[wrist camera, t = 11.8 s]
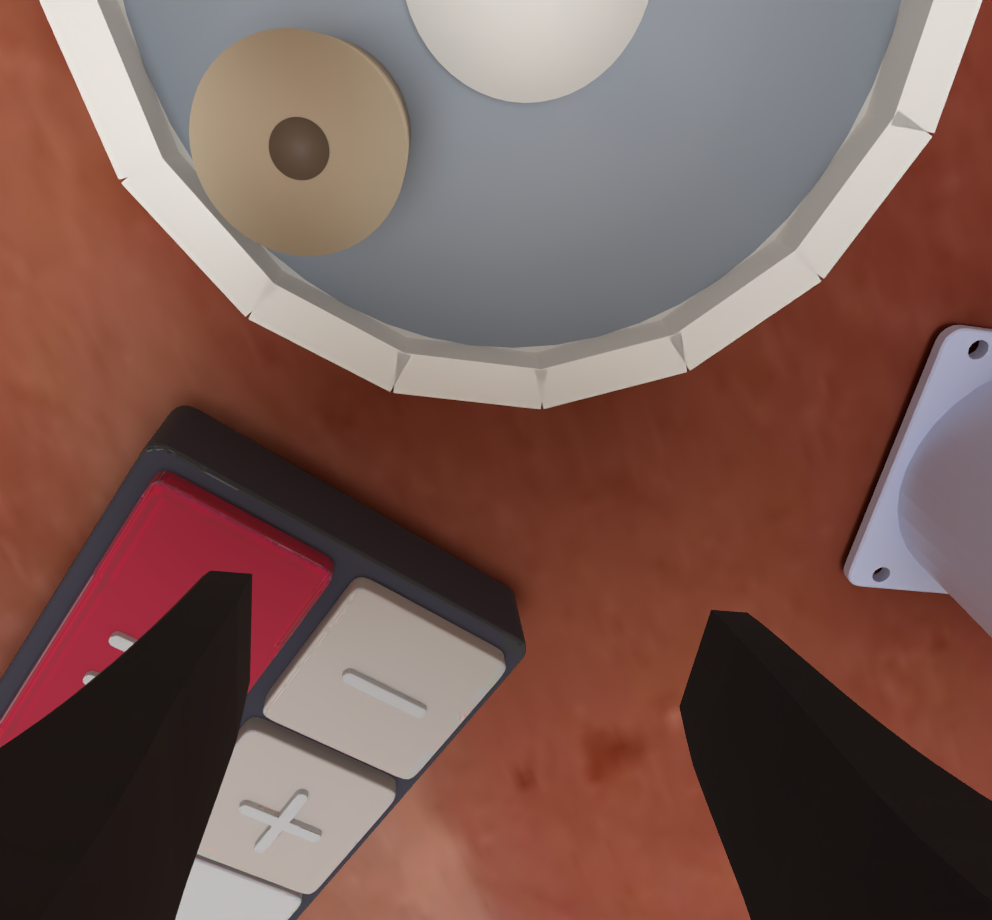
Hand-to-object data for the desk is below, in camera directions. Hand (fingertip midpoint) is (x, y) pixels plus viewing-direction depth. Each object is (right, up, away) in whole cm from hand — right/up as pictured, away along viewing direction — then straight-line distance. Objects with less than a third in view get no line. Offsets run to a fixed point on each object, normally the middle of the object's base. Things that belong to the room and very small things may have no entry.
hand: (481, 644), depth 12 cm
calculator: (-8, -4, +12) cm, 15 cm away
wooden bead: (-3, +10, +5) cm, 11 cm away
